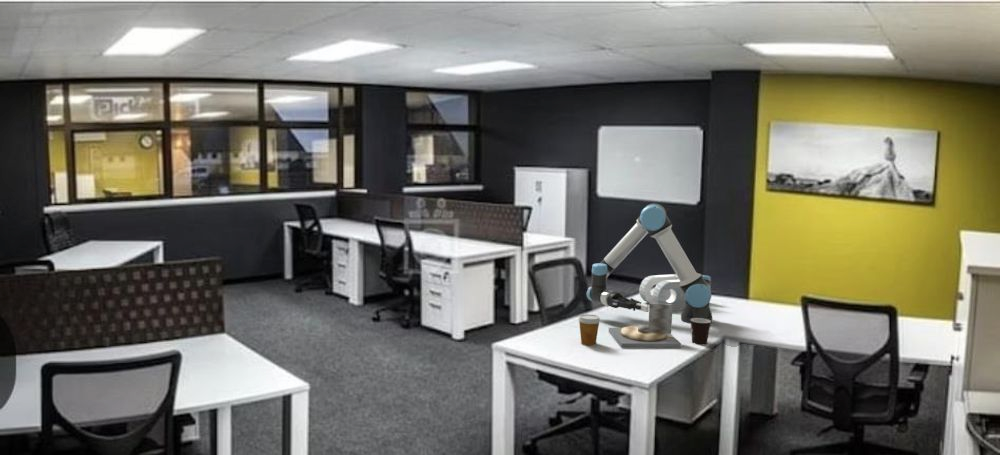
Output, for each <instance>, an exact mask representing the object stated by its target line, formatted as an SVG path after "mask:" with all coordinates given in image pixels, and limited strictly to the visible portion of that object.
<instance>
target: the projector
mask: <svg viewBox="0 0 1000 455" xmlns="http://www.w3.org/2000/svg"><path fill="white" fill-rule="evenodd" d="M679 285H680V280H679V278H678V276H677V275H676V273H672V274H657V275H648V276H646V277H645V278H644V279H643V280H642V281H641V282H640V285H639V289H638V290H639V296H640V297H641V300H643V301H644V302H646V303H648V304H649V303H660V304H673V307H672V311H674V310H683V309H684V306H685V300H686V298H685V295H684V293H683V291H682V290H681V288H680V286H679ZM653 287H654V289H653V292H651V291H652V288H653Z"/></svg>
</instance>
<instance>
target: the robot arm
mask: <svg viewBox="0 0 1000 455" xmlns="http://www.w3.org/2000/svg"><path fill="white" fill-rule="evenodd" d="M672 227H673V223H672V222H671V220H670V219H669V217H668V215H667V211H666V209H665V207H664V206H663V205H661V204H659V203H656V202H655V203H649V204H647V205H645V207H644V208H643V209H642V210H641V211H640V214H639V217H638V218H637V219H636V223H635V224H634V225H633V226H632V227H631V228H630V229H629V231H628V232H627V233H626V234H625V235H624V236H623V237H622V238H621V239H620V240H619V241H618V243H616V245H615V246H614V247H613V248H612V249H611V250H610V252H608V253H607V255H606V256H605V257H604V258H603V259H602V260H601V261H600V262H598V263H597V262H596V263H593V264H592V265H591V266H592V268H591V286H590V287H587V291H586V298H587V300H589V301H591V302H593V303H596V304H601V305H604V306H606V307H607V308H608V307H610V308H614V309H618V308H622V309H628V310H632V311H636V310H638V311H640V312H645V313H649V305H646V304H643V303H642V302H641V301H639V300H637V299H634V298H632V297H630V298H626V297H624V296H623V295H622V294H621V292H617V291H615V290H610V289H607V285H608V277H609V276H610V275H611V274H612V273H613V272H614V270H615V269H616V268H617V267H618V266H619V265H620V264H621V262H623V261H624V260H625V259H626V257H627V256H628V255H630V254H631V252H632V251H633V250H634V249H635V248H636V247H637V246H638V245H639V243H640V242H641V241H642V240H643V239H644V238H645V237H646V236H647V235H649V237H650V238H654V239H655V240H656V242H657V244H658V245H659V247H660V249H661V251H662V252H663V254H664V256H665V258H666V259H667V261H668V263H669V264H670V266H671V268H672V270H673V271H674V274H676V275H677V276H678V278H679V280H680V285H679V286H680V288H681V290H682V291H683V293H684V295H685V298H686V300H685V306H684V309H682V312H681V314H680V320H681V321H682V322H685V323H689V324H691V319H693V318H703V319H708V320H710V321H711V323H712V322H713V315H712V311H711V307H710V304H711V303H710V302H711V299H712V290H711V286H712V285H711V284H712V279H711V278H712V277H711V276H709V275H704V274H703V275H702V273H698V272H697V271H696V270H695V268H694V266H693V265H692V264H693V263H691V261H690V259H689V258H688V256H687V254H686V252H685V250H684V249H683V248H682V246H681V244H680V242H679V240H678V238H677V237H676V235H675V233H674V232H673V230H672ZM711 323H710V324H711Z"/></svg>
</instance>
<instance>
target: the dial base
mask: <svg viewBox="0 0 1000 455" xmlns="http://www.w3.org/2000/svg"><path fill="white" fill-rule="evenodd" d="M622 328H623V327H608V333H609V335H610V336H611V337H612V338H613V339H614V341H615V342H616V343H617V345H618V346H619V347H620V348H621V349H678V348H679V349H681V348H682V342H680V341H679V340H678V339H676V338H677V337H675V336H673V335H672V333H671V334H668V333H667V334H666V338H665V339H662V340H657V341H641V340H634V339H630V338H626V337H624V336H622V335H621V329H622Z"/></svg>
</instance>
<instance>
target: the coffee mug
mask: <svg viewBox="0 0 1000 455" xmlns="http://www.w3.org/2000/svg"><path fill="white" fill-rule="evenodd" d="M710 328H711V321H710V320H708V319H703V318H693V319H691V323H690V331H691V342H692V344H694V343H695V344H694V345H702V346H703V344H704V345H707V343H708V339H709V334H710Z"/></svg>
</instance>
